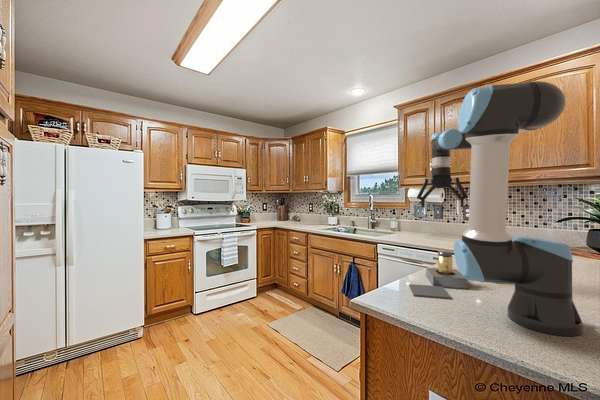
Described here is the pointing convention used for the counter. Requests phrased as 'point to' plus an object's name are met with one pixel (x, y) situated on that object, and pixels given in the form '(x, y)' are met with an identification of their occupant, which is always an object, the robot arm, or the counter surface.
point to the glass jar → (445, 263)
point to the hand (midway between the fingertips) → (441, 214)
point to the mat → (429, 291)
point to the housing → (446, 279)
